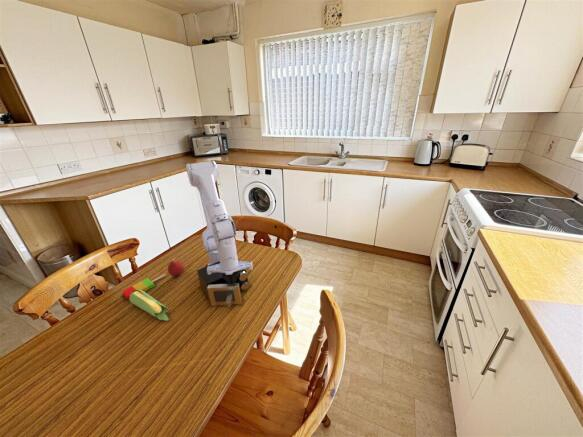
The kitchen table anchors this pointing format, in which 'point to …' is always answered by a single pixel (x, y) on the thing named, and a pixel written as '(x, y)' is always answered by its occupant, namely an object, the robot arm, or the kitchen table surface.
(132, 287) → the popsicle
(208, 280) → the microwave
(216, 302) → the door
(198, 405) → the kitchen table surface
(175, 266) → the onion
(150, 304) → the edible corn
